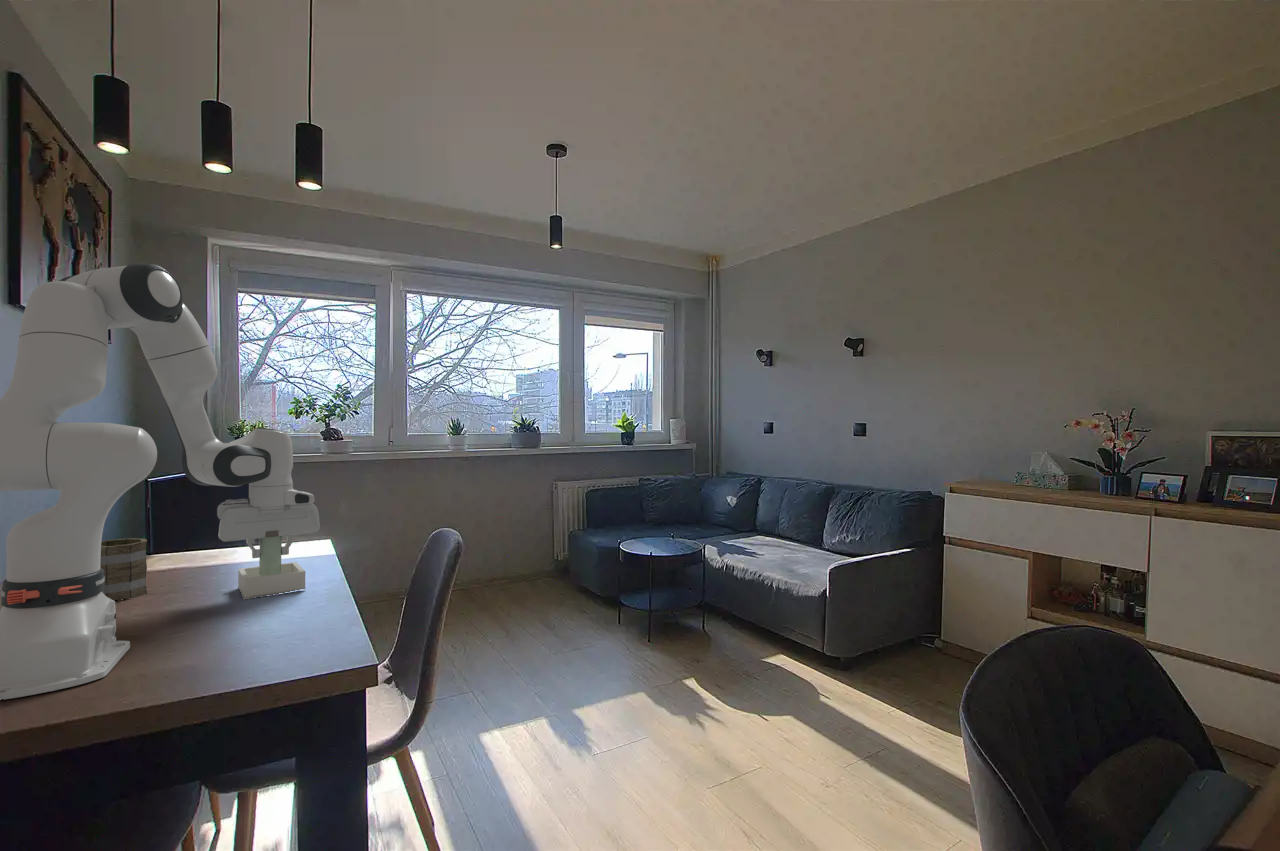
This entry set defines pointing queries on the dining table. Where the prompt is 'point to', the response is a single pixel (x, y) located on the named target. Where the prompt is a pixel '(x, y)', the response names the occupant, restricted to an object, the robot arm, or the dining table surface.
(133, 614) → the dining table surface
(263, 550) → the spice jar
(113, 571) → the mug
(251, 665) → the dining table surface
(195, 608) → the dining table surface
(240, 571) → the bin
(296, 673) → the dining table surface
